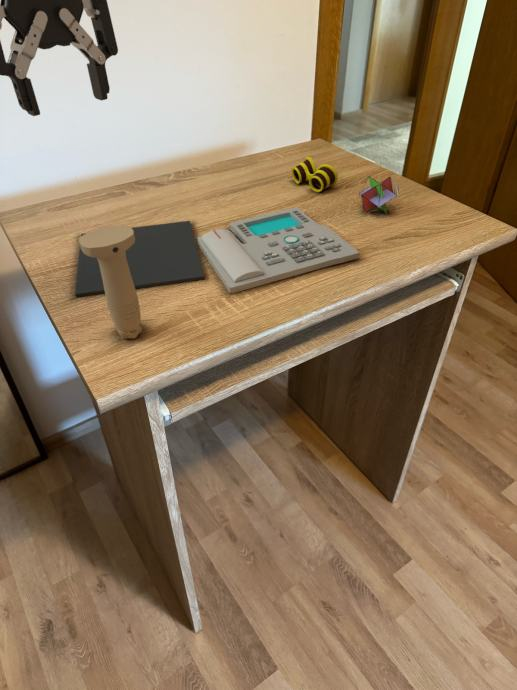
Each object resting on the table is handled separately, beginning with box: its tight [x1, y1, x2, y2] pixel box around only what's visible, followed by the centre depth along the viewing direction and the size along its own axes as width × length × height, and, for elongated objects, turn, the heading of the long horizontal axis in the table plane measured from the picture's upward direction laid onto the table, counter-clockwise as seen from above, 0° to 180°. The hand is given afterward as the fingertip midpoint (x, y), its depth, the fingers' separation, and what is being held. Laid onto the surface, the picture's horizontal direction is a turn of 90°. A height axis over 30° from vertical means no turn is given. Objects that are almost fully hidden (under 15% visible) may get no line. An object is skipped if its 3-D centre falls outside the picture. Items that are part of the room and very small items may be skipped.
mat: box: [74, 220, 206, 298], centre depth 83 cm, size 20×20×1 cm
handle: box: [78, 224, 143, 340], centre depth 63 cm, size 5×6×15 cm
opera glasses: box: [290, 156, 339, 193], centre depth 104 cm, size 10×5×5 cm, turn 38°
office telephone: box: [197, 207, 360, 294], centre depth 84 cm, size 23×3×20 cm
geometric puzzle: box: [358, 175, 400, 214], centre depth 93 cm, size 7×7×8 cm
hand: (68, 106), depth 57 cm, fingers open, 8 cm apart
